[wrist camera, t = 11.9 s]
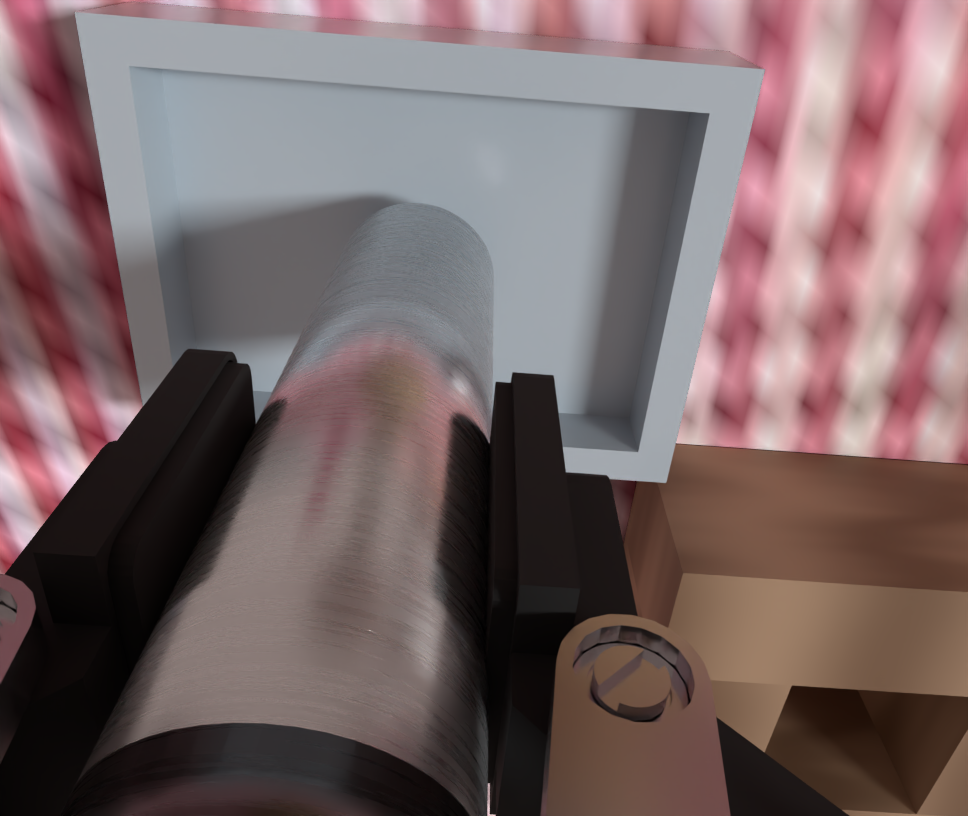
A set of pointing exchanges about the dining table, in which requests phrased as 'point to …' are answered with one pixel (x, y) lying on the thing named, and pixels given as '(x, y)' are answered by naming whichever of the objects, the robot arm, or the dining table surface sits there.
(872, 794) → the block
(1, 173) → the dining table surface
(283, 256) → the dish
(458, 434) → the pin
